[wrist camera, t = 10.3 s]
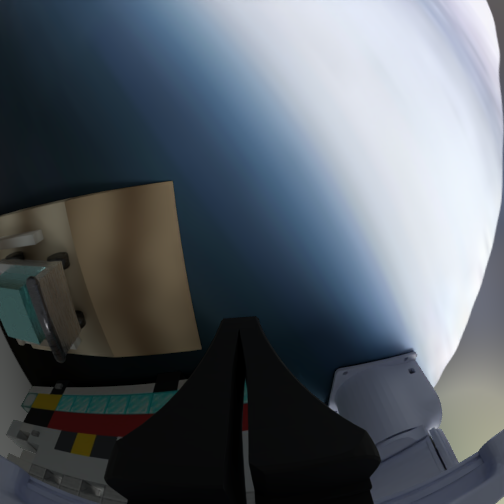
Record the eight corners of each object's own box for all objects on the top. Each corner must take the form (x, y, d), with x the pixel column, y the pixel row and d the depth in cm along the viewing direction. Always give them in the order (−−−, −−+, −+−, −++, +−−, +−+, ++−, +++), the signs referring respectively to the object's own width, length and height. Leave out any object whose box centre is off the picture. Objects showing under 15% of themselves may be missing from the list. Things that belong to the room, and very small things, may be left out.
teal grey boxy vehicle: (71, 246, 17) (31, 280, 12) (91, 323, 20) (64, 366, 15) (12, 246, 17) (-27, 273, 12) (33, 314, 20) (4, 349, 15)
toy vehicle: (33, 378, 25) (-11, 461, 11) (258, 353, 23) (275, 521, 9) (67, 416, 28) (38, 496, 14) (277, 404, 26) (295, 533, 13)
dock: (175, 178, 18) (161, 188, 15) (202, 341, 24) (198, 372, 20) (-2, 214, 18) (-27, 227, 14) (41, 336, 23) (26, 357, 20)
